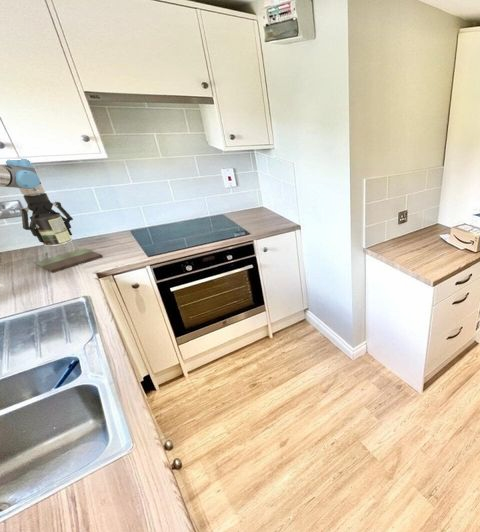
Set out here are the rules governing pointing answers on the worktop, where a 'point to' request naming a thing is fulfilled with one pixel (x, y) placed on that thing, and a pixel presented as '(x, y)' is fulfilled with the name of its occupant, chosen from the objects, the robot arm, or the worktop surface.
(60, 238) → the coffee can
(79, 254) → the serving board
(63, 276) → the worktop surface
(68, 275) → the worktop surface
